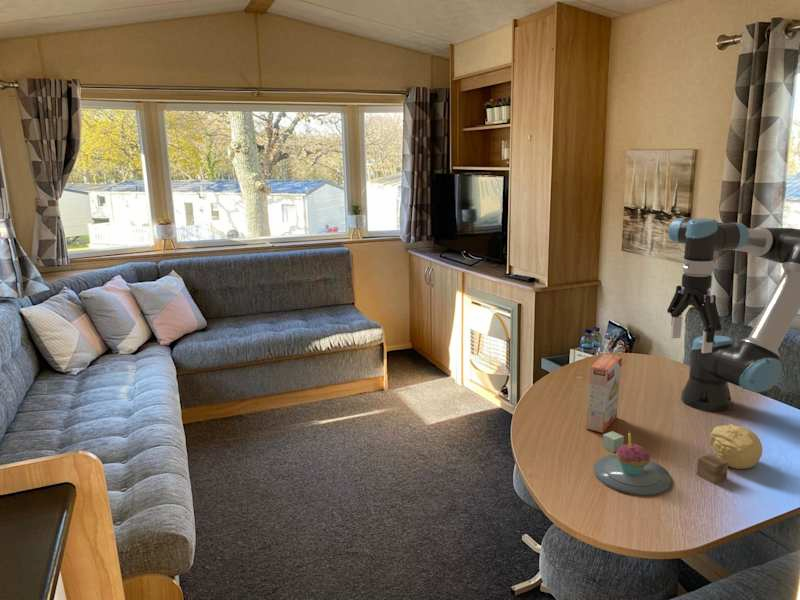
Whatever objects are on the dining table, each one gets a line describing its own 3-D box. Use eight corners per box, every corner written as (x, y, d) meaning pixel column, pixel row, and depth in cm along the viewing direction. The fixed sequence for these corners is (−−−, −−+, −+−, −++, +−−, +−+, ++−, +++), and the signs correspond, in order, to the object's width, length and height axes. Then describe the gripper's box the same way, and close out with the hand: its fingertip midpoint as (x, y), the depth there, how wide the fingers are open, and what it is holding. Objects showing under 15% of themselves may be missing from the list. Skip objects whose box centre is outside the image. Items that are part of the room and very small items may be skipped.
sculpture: (701, 458, 167) (705, 422, 164) (730, 448, 172) (735, 414, 169) (738, 478, 157) (743, 440, 154) (768, 467, 161) (774, 431, 159)
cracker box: (604, 434, 182) (609, 369, 176) (585, 429, 185) (589, 366, 180) (618, 417, 192) (623, 356, 187) (599, 413, 196) (603, 353, 191)
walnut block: (709, 470, 161) (711, 453, 159) (726, 479, 156) (728, 462, 155) (696, 475, 159) (698, 458, 157) (713, 484, 154) (715, 466, 153)
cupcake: (630, 482, 153) (634, 439, 150) (607, 466, 161) (610, 425, 158) (656, 474, 156) (660, 432, 154) (632, 459, 164) (635, 419, 161)
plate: (643, 454, 169) (644, 450, 169) (686, 490, 151) (687, 486, 151) (581, 461, 166) (581, 457, 166) (618, 499, 148) (618, 495, 148)
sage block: (611, 443, 176) (612, 431, 175) (622, 448, 173) (623, 436, 172) (602, 446, 174) (603, 434, 173) (613, 452, 171) (614, 439, 170)
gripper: (658, 266, 180) (653, 333, 185) (716, 284, 156) (708, 360, 162) (680, 264, 181) (674, 331, 187) (741, 282, 158) (732, 357, 163)
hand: (690, 344), depth 174 cm, fingers open, 13 cm apart
